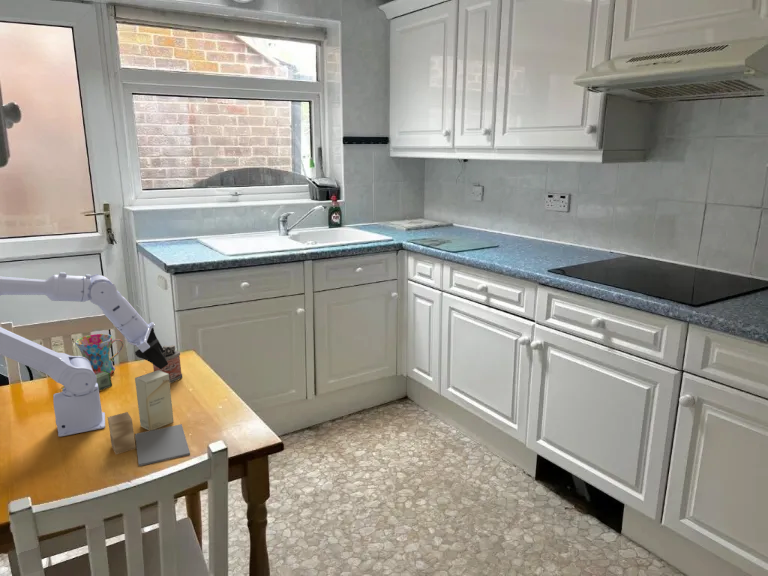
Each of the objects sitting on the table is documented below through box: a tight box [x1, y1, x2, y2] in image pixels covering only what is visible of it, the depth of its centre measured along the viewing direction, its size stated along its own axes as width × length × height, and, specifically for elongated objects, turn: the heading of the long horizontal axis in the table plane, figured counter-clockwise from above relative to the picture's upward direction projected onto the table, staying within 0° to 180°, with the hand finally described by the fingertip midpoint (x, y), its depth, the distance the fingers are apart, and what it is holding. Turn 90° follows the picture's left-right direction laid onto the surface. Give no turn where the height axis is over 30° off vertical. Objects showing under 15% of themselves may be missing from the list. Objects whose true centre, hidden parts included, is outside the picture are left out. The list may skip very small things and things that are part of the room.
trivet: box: [134, 423, 191, 467], centre depth 124 cm, size 10×14×1 cm
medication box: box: [61, 371, 113, 392], centre depth 150 cm, size 12×3×4 cm, turn 147°
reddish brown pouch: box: [152, 344, 183, 384], centre depth 156 cm, size 8×3×10 cm, turn 144°
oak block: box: [107, 411, 137, 455], centre depth 122 cm, size 4×4×7 cm
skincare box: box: [134, 370, 174, 431], centre depth 132 cm, size 6×4×12 cm
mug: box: [75, 333, 124, 375], centre depth 162 cm, size 12×9×11 cm
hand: (162, 359), depth 140 cm, fingers open, 7 cm apart
